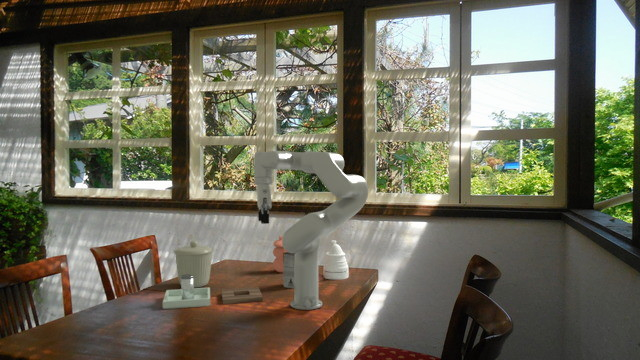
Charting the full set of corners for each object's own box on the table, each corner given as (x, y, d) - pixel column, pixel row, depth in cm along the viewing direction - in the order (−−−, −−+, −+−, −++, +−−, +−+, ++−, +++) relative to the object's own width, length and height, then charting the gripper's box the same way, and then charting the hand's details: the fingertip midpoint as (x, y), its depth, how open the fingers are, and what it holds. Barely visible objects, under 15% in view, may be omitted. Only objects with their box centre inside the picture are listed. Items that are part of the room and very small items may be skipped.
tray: (210, 306, 182) (210, 298, 182) (162, 309, 178) (162, 301, 177) (209, 294, 199) (209, 287, 199) (166, 297, 195) (166, 290, 195)
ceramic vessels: (332, 279, 227) (332, 241, 227) (297, 285, 214) (296, 245, 214) (293, 267, 255) (293, 233, 255) (260, 272, 242) (260, 237, 242)
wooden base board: (262, 301, 188) (262, 296, 188) (223, 304, 184) (223, 299, 184) (258, 291, 204) (258, 287, 203) (221, 294, 200) (221, 289, 200)
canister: (203, 291, 204) (203, 244, 204) (166, 289, 208) (166, 243, 208) (220, 281, 222) (219, 238, 222) (185, 279, 226) (185, 237, 225)
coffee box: (292, 282, 220) (292, 249, 219) (304, 284, 217) (304, 250, 217) (283, 287, 211) (282, 252, 211) (295, 288, 209) (294, 253, 208)
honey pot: (318, 275, 235) (318, 240, 234) (340, 272, 241) (340, 238, 241) (331, 280, 224) (331, 244, 223) (353, 277, 230) (353, 242, 229)
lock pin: (194, 301, 187) (193, 276, 186) (181, 302, 185) (180, 277, 185) (194, 297, 192) (193, 274, 191) (181, 298, 190) (181, 275, 190)
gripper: (275, 181, 184) (275, 224, 184) (269, 180, 200) (269, 219, 201) (256, 182, 182) (256, 224, 182) (252, 181, 199) (252, 220, 199)
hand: (263, 222), depth 191 cm, fingers open, 9 cm apart
